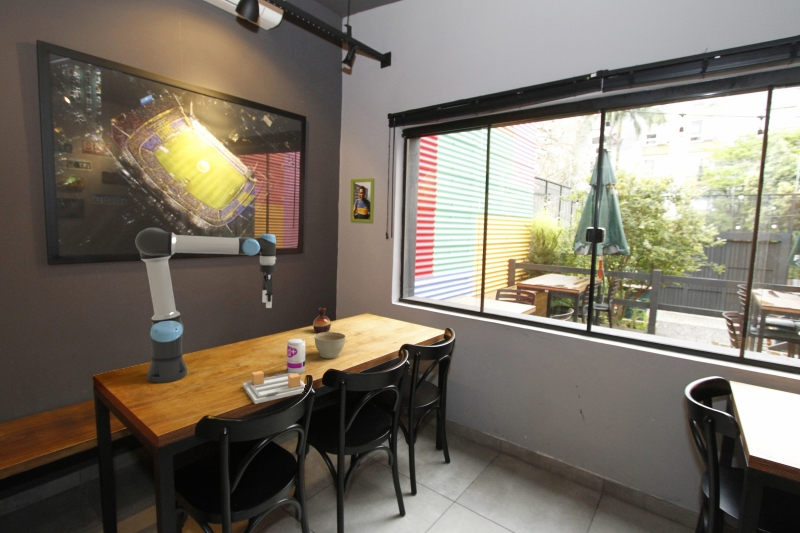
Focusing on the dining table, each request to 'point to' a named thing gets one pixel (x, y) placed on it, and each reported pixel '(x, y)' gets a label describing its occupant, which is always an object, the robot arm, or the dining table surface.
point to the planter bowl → (329, 344)
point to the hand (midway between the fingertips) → (266, 305)
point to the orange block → (257, 378)
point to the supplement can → (296, 356)
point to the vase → (321, 322)
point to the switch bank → (272, 388)
